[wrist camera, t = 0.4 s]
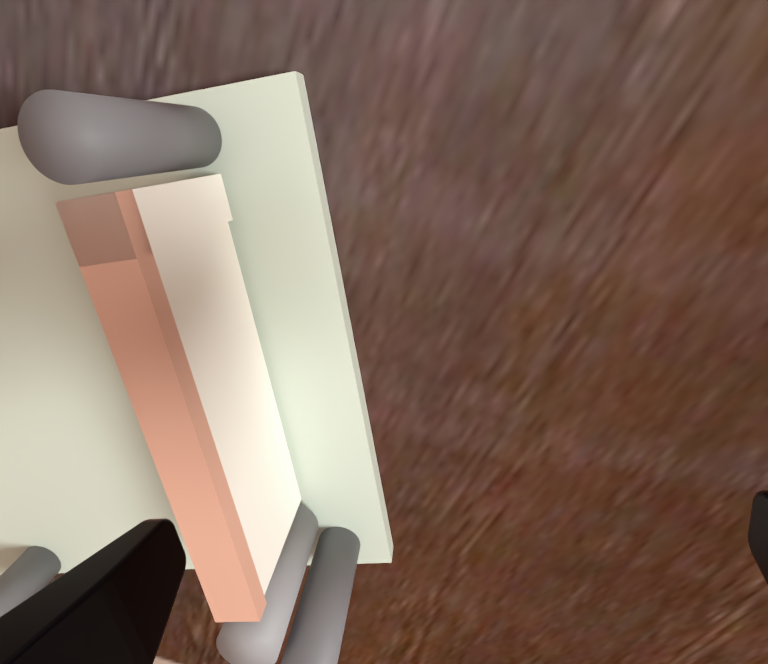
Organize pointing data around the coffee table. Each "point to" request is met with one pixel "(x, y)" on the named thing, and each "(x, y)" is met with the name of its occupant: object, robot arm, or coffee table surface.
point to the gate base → (99, 369)
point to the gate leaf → (200, 396)
